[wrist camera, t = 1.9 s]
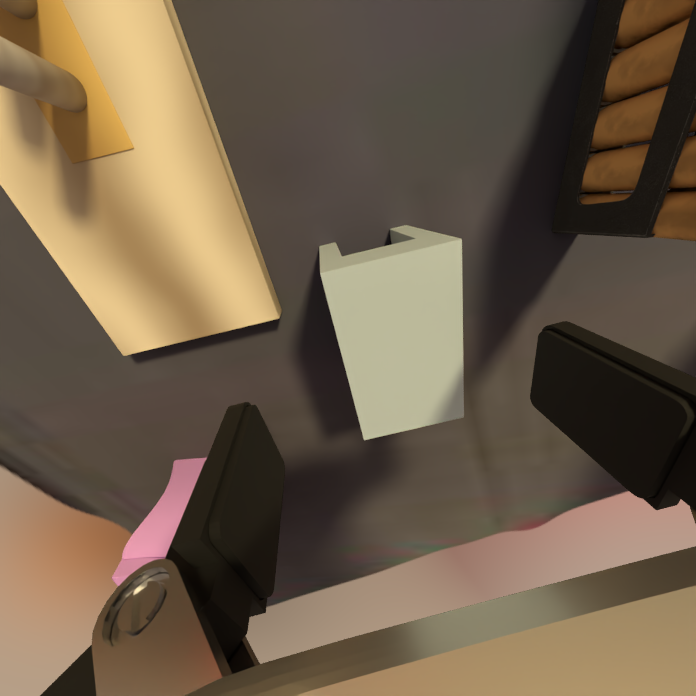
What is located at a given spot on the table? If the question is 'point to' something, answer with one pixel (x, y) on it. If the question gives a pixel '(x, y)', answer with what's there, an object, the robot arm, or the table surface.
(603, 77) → the ammunition clip
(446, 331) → the pale green notched block
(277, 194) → the table surface
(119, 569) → the toy chair
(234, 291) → the board
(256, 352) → the table surface
